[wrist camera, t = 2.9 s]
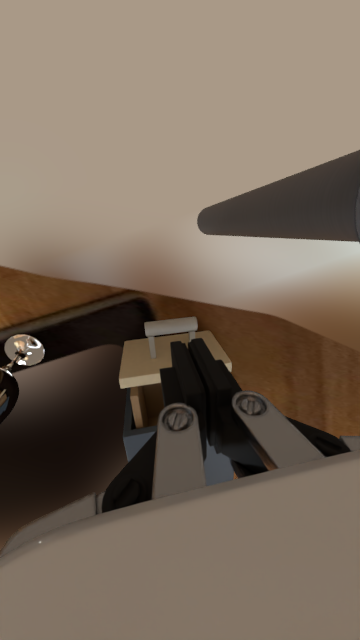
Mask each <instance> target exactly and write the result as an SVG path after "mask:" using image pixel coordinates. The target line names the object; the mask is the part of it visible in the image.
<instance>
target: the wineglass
mask: <svg viewBox="0 0 360 640" xmlns="http://www.w3.org/2000/svg"><path fill="white" fill-rule="evenodd" d="M4 349H5V353H6V355H7V356H8V357H9V358H10V359H11V360H12V361H11V362H10V363H9V364H7V365H5V366H3V367H1V368H0V424H1V423H2V422H3V421H4V419H5V418H6V417H7V416H8V415H9V414H10V412H11V411H12V409H13V408H14V406H15V404H16V402H17V399H18V395H19V387H18V383H17V381H16V379H15V378H14V376H13V375H12V374H11V373H10V371H11V368H12V367H13V365H14V364H15V363H17V364H20V365H34V364H37V363H39V362H40V361H41V360H42V359H43V357H44V355H45V349H44V346H43V345H42V343H41V342H40V341H39V340H38V339H36V338H35V337H33V336H30V335H26V334H18V335H14V336H12V337H10V338H9V339H8V340H7V341H6V343H5V346H4Z"/></svg>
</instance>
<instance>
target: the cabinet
mask: <svg viewBox="0 0 360 640" xmlns="http://www.w3.org/2000/svg"><path fill="white" fill-rule="evenodd" d="M130 391H131V387H129V388H127V398H126V410H125V420H124V432H123V440H124V445H125V449H126V453H127V458H128V462H129V461H130V460H131V459H132V458H133V457H134V456H135V455H136V453H137V452H138V451H139V450H140V449H141V448H142V447H143V445H144V444H145V443H146V442H147V441H148V440H149V439H150V438H151V436H152V435H153V434H154V433H155V432H156V431H157V425H156V426H150V427H145V428H139V429H136V425H135V420H134V415H133V410H132V404H131V399H130ZM204 468H205V476H206V483H207V486H210V485H214V484H218V483H222V482H226V481H231V480H233V475H234V470H233V468H232V466H231V464H230V461H229V457H227V456H225V455H223V454H222V453H220V454H216V451H215V448H214V446H211V447H210V446H209V443H208V441H207V457H206V459H205V461H204Z"/></svg>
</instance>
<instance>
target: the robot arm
mask: <svg viewBox="0 0 360 640" xmlns="http://www.w3.org/2000/svg"><path fill="white" fill-rule="evenodd" d="M170 347H171V359H172V367H168V368H162V369H159V370H160V379H161V387H162V395H163V402H164V409H163V410H162V411H161V412H160V414H159V417H158V425H157V431H156V432H155V433H154V434H153V435H152V436H151V438H150V439H149V440H148V441H147V442H146V443H145V444H144V445H143V447H142V448H141V449H140V450H139V451H138V452H137V453H136V455H135V456H134V457H133V458H132V459H131V460H130V461H129V463H128V464H127V465H126V466H125V467H124V468H123V469H122V471H121V472H120V473H119V474H118V475H117V476H116V477H115V478H114V480H113V481H112V482H111V483H110V485H109V486H108V488H107V489H106V491H104V492H102V493H100V494H98V495H96V494H95V492H94V493H92V494H90V495H88V496H85V497H83V498H81V499H79V500H77V501H75V502H73V503H70V504H69V505H66V506H64V507H62V508H60V509H58V510H56V511H54V512H52V513H49V514H47V515H45V516H43V517H41V518H39V519H37V520H35V521H32V522H30V523H28V524H27V525H25V526H23V527H22V528H20V529H19V530H17V531H16V533H14V534H13V535H12V537H10V538H9V539H8V540H7V542H6V543H5V545H4V546H3V548H2V549H1V550H0V640H360V436H340V439H338V438H337V437H335V436H333V435H331V434H329V433H326V432H324V431H321V430H319V429H316V428H314V427H311V426H308V425H306V424H303V423H301V422H298V421H296V420H293V419H291V418H288V417H285V416H284V415H283V414H282V413H281V412H280V411H279V410H278V409H277V408H276V407H275V406H274V405H273V404H272V403H271V402H270V401H269V400H268V399H267V398H265V397H264V396H263V395H261V394H259V393H257V392H253V391H242V390H241V388H240V386H239V385H238V383H237V382H236V380H235V379H234V377H233V376H232V374H231V373H230V371H229V370H228V368H227V367H226V365H225V364H224V362H223V361H222V360H221V359H220V360H215V359H214V357H213V355H212V354H211V352H210V350H209V349H208V347H207V345H206V344H205V342H204V340H203V339H202V338H196V339H191V342H188V348H187V346H186V344H185V343H182V342H181V341H174V342H170ZM207 441H208V443H209V446H210V447H211V446H214V448H215V451H216V454H220V453H222V454H223V455H225V456H227V457H229V461H230V464H231V466H232V468H233V470H234V472H235V474H236V475H237V477H238V479H235V480H231V481H226V482H222V483H218V484H214V485H210V486H207V483H206V476H205V468H204V461H205V459H206V457H207Z"/></svg>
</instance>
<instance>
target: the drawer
mask: <svg viewBox="0 0 360 640" xmlns="http://www.w3.org/2000/svg"><path fill="white" fill-rule="evenodd" d="M197 328H198V325H197V319H196V317H186V318H178V319H169V320H160V321H152V322H145V333H146V336H147V337H148V338H145V339H138V340H130V341H125V343H124V349H123V356H122V362H121V369H120V375H119V383H120V387H121V389H122V388H129V387H131V391H130V399H131V404H132V410H133V415H134V420H135V425H136V429H139V428H145V427H150V426H156V425H158V417H159V414H160V412H161V411H162V410H163V409H164V402H163V395H162V387H161V379H160V370H159V369H162V368H168V367H172V359H171V347H170V342H174V341H181V342H182V343H185V344H186V346H187V348H188V342H191V339H196V338H202V339H203V340H204V342H205V344H206V345H207V347H208V349H209V350H210V352H211V354H212V355H213V357H214V359H215V360H220V359H221V360H222V361H223V362H224V364H225V365H226V367H227V368H228V370H229V371H230V372H231V369H232V362H231V361H230V359H229V358H228V356H227V355H226V353H225V352H224V350H223V349H222V348H221V346H220V345H219V343H218V342H217V340H216V339H215V337H214V336H213V334H212V333H211V332H210V331H201V332H195V331H196V330H197ZM188 331H189V333H185V334H177V335H169V336H161V337H154V336H156V335H164V334H172V333H180V332H188Z"/></svg>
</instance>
